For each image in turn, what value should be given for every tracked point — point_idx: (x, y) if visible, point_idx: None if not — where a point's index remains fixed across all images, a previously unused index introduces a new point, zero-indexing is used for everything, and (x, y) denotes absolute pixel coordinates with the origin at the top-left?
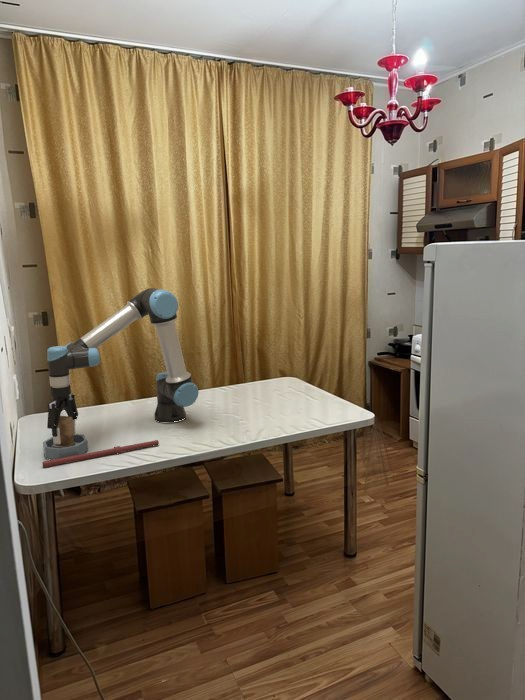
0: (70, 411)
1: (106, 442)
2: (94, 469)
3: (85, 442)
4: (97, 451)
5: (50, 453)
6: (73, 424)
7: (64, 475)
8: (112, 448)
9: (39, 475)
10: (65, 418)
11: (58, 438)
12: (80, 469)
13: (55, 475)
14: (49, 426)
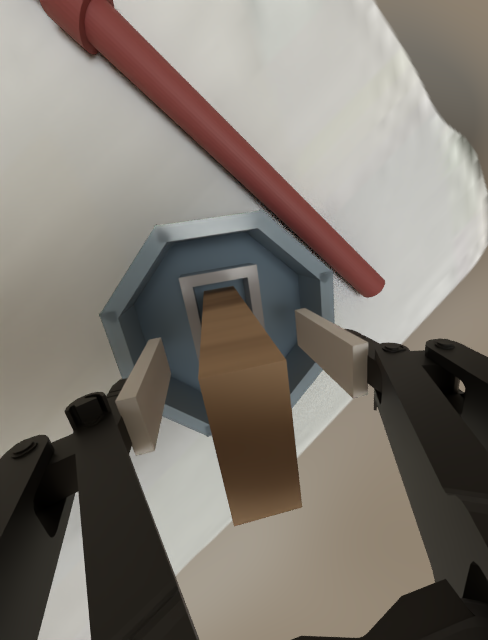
0: (145, 500)
1: (10, 225)
2: (323, 22)
3: (177, 223)
4: (193, 105)
5: None
6: (147, 375)
7: (406, 139)
8: (100, 22)
9: (421, 243)
10: (289, 398)
11: (322, 319)
12: (342, 107)
13: (412, 180)
14: (458, 380)
